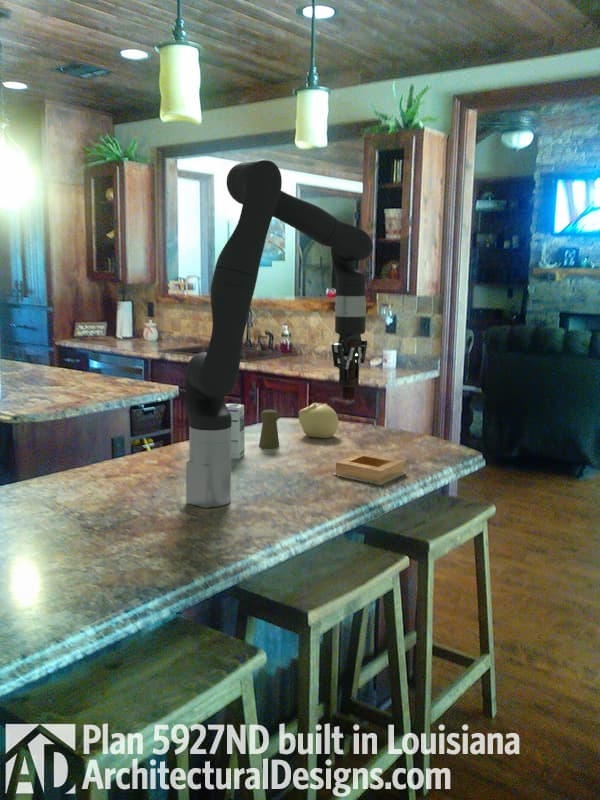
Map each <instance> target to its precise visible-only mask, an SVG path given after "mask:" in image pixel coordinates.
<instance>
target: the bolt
mask: <svg viewBox="0 0 600 800" xmlns="http://www.w3.org/2000/svg"><path fill="white" fill-rule="evenodd" d="M352 346H353V348H355V349H354V350H353V355H352V360H351V361H350V362H349V367H348V370H349V371H348V384H340V383H339V382H338V385H339V386H340V387H342V390H341V391H342V394H341V395H342V396H341V397H342V398H343V400H344V401H350V402H351V401H353V400H354V399H355V397H356V396H355V395H356V394H355V392H356V391H355V390H356V389H355V387H358V385H359V383H360V381H359V380H360V379H359V380H358V379H357V378H355V363H356V361H355V359H356V357H355V355H356V347H361V341H360V340H355V341H349V348H351V347H352ZM343 347H344V346H343ZM344 356H347V355H344ZM345 361H346V360H344V362H345Z"/></svg>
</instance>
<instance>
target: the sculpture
mask: <svg viewBox="0 0 600 800" xmlns="http://www.w3.org/2000/svg"><path fill="white" fill-rule="evenodd" d="M298 416H299V417H298V422H299V424H300V426H301V429H302V431H303V433H304V434H305V436H307V437H310V438H322V439H328V438H329V439H330V438H332V437H334V436H335V434H336V433H337V431H338V429H339V426H340V425H339V424H340V421H339V417H338V414H337V412H336V410H334V408H332V407H331V405H328V403H321V402H319V403H318V402H313V403H311V404H310V405H309V406H306V407H305V408H302V409H300V410H299V411H298Z"/></svg>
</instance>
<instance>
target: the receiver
mask: <svg viewBox="0 0 600 800" xmlns="http://www.w3.org/2000/svg"><path fill="white" fill-rule="evenodd" d="M406 474H407V471H405V460H403V459H397V458H392V457H387V456H380V455H376V454H371V453H364V452H360V453H357V454H354V455H351V456H348V457H346V458H344V459H341V460H338V461H336V462H335V472H333V473H332V475H333V476H335V475H337V476H336V477H340V476H341V478H345V477H346V479H349V478H350V480H355V481H360V482H365V483H368V482H369V483H370V484H373V483H374V485H380V486H383V485H384V484H387V483H388V482H392V481H393V480H395V479H397V478H399V477H401V476H404V475H406Z"/></svg>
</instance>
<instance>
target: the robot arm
mask: <svg viewBox="0 0 600 800" xmlns="http://www.w3.org/2000/svg"><path fill="white" fill-rule="evenodd" d="M282 181H283V180H282V173H281V171H280V168H279V167H278V165H277V164H276V163H275V162H274V161H272V160H270V159H255V160H249V161H243V162H239V163H237V164H235V165H234V166H233V167H231V169H230V170H229V172H228V173H227V176H226V188H227V191H228V194H229V195H230V196H231V198H232V199H233V200H234V201H235V202H236V203H239V204H240V205H242V206H241V211H240V216H239V218H238V222H237V224H236V226H235V228H234V230H233V231H232V233H231V235H230V237H229V238H228V239H227V241H226V243H225V245H224V246H223V248H222V249H221V251H220V253H219V255H218V258H217V260H216V263H215V267H214V271H213V276H212V281H211V285H210V310H211V320H212V328H211V334H210V335H211V336H210V339H209V340H210V341H209V342H208V343H209V344H208V348H207V351H206V352H205V351H203V352H199V353H197V354H195V355H193V356H192V357H191V359H190V360H189V361H188V363H187V366H186V369H185V374H184V379H185V380H184V381H185V382H184V385H185V407H186V408H185V410H186V414H187V416H188V420H189V421H188V423H189V424H188V425H189V429H188V430H189V433H188V434H189V445H188V446H189V450H188V451H189V454H188V455H189V460H188V461H186V463H185V465H186V466H185V471H186V472H185V475H186V477H185V478H186V479H185V480H186V482H185V484H186V485H185V486H186V487H185V489H186V491H185V493H186V494H185V497H186V499H185V502H186V504H188V505H193V506H195V507H196V506H197V507H201V508H203V509H209V508H217V507H221V506H225V505H228V504H230V502H231V501H232V500H231V499H232V498H231V497H232V495H231V494H232V491H231V490H232V484H231V483H232V459H231V425H232V418H231V414H230V412H229V410H228V409H227V406H226V404H227V403H226V400H225V397H227V396H229V395H230V394H231V393H232V391H233V390H234V389H235V387H236V385H237V382H238V379H239V372H240V364H241V357H242V356H241V355H242V348H243V342H244V336H245V331H246V327H247V323H248V318H249V314H250V309H251V305H252V300H253V297H254V294H255V289H256V283H257V280H258V276H259V271H260V265H261V260H262V257H263V252H264V249H265V244H266V241H267V237H268V233H269V229H270V225H271V223H272V219H273V218H275V219H277V220H279V221H280V222H282V223H285V224H286V225H288V226H289V227H292V228H293V229H295V230H297V231H298V232H300V233H302V234H304V235H305V236H307V237H308V238H310V239H311V240H313V241H314V242H316V243H318V244H320V245H322V246H325V247H327V248H328V247H330V255H331V260H332V264H333V268H334V273H335V276H336V296H335V297H336V299H335V305H334V306H335V307H334V313H335V314H334V317H335V318H334V321H335V322H334V332H335V333H336V334H338V335H339V337H338V340H337V343H332V344H331V354H332V361H333V367H334V368H337V369H338V370H339V372H338V376H339V377H338V384H339V383H340V384H348V371H349V370H348V367H349V362H350V361H351V360H352V355H353V350H354V349H355V348H353V346H352V347H351V348H349V341H355V340H360V341H361V347H356V355H355V357H356V359H355V361H356V363H355V378H357V379H358V380H360V367H361V366H362V364H365V359H366V354H367V348H368V347H367V346H368V340H366V339H362V336H361V335H364V334H365V333H366V323H367V322H366V317H367V314H366V312H367V303H366V275H365V273H363V272H362V271H360V270H357V267H356V264H355V262H361V261H364V260H367V259H368V258H369V257H370V256H371V254H372V253H373V249H374V244H373V240H372V238H371V236H370V235H369V234H368V233H367V232H366V231H365V230H363V229H361V228H359V227H357V226H354V225H352V224H350V223H348V222H345V221H342V220H340V219H338V218H336V217H335V216H334V215H333V214H331V213H329V212H328V211H326V210H325V209H323V208H321V207H320V206H318V205H316V204H314V203H312V202H310V201H307V200H305V199H302V198H300V197H296V196H294V195H292V194H288V193H287V192H286V191H283V190H282V185H283V182H282ZM343 346H344V347H343ZM344 355H347V356H344ZM344 360H346V361H345V362H344Z"/></svg>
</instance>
